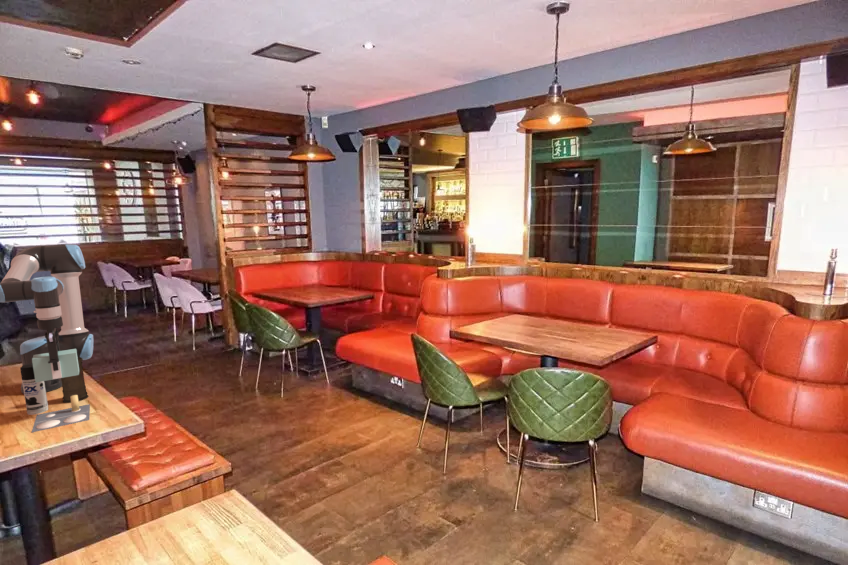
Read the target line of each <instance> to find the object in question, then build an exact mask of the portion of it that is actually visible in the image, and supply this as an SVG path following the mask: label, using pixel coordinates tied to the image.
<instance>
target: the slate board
mask: <svg viewBox="0 0 848 565" xmlns="http://www.w3.org/2000/svg"><path fill="white" fill-rule="evenodd" d="M70 399H71V403H70V404H71V405H70V406H71V407H70V408H69V407H68V408H64V409H59V410H54V411H49V412H43V413H39V414H36V415H35V420H34V422H33V426H32V429H31V433H36V432H40V431H46V430H50V429H53V428H55V429H56V428H59V427H63V426H68V425H72V424H77V423H81V422H86V421H90V416H91V415H90V413H91V412H90V410H91V409H90V408H91V407H90V406H91V404H90V403H89V404H88V403H87V404H85V405H80V401H78V395H72V396H70Z"/></svg>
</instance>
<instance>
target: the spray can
mask: <svg viewBox="0 0 848 565" xmlns="http://www.w3.org/2000/svg"><path fill="white" fill-rule="evenodd" d="M19 369H20V370H19V371H20V375H21V385H22V384H23V390H24V394H23V395H24V401H25V402H24V403H25V407H26V408H25V409H26V414H27V415H28V416H29V415H30V416H31V415H32V416H33V415H38V414H43V413H46V411H48V410H49V402H48V396H47V392H46V389H45V382H44V381H41V382H35V376H34V369H33V363H31V364H26V365H23V366H20V367H19Z"/></svg>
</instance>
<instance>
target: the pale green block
mask: <svg viewBox="0 0 848 565" xmlns="http://www.w3.org/2000/svg"><path fill="white" fill-rule="evenodd" d="M58 358H59V361H60V367H61V374H62V378H64V377H70V376H76V375H79V364H78V357H77V350H76V349H70V350H64V351H58ZM55 359H56V358H55ZM49 360H50V358H49V353H43V354H37V355H34V356H33V358H32V363H33V369H34V376H35V382H41V381H47V380H53V376H52V370H51V363H48V362H49ZM57 379H58V378H57Z"/></svg>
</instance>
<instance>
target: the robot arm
mask: <svg viewBox="0 0 848 565" xmlns="http://www.w3.org/2000/svg"><path fill="white" fill-rule="evenodd" d="M85 268H86V262H85V258H84V255H83V252H82V250H81V248H80V246H79V245H77V244H67V243H65V244H55V245H52V244H51V245H36V246H32V247H29V248H26V249H24V250H22V251H20V252H18V253H17V254H16V255H14V257H13V258H12V259H11V262H10V268H9V270H8V271H7V272H6V274H5V276H4V277H3V279H2V280H1V282H0V303H11V302H23V301H33V302H34V309H35V310H33V313H34V314H35V316H36V318H37V320H36V323H37V328H38V329H39V330H41V331H45V330H46V332H44V333H45V334H44V335H43V336H38V337H34V338H31V339H28V340H26V341H23V342H22V343H20V346H19V351H20V353H19V355H20V358H21V364H22V366H23V365H26V364H31V363H32V358H33V356H34V355H37V354H43V353H49V358H50V360H49V362H48V363H51V370H52V376H53V380H47V381H44V382H45V389H46V393H47V392H52V391H54V390H57V389H60V388H61V387H62V381H61V378H62V374H61V367H60V361H59V358H58V351H64V350H70V349H76V350H77V357H81V358H82V359H83V361H86V360H89V359H91V358H92V356H93V353H94V340H95V339H94V334H92V333H90V332H89V330H88V328H85V322H84V313H83V306H82V305H83V304H82V295H81V289H80V280H79V278H80V276H81V275H82V274H83V270H85ZM39 272H50V276H49V275H48V276H41V277H40V276H39V277H33V278H32V276H33V275H34V274H36V273H39ZM31 278H32V279H31ZM59 328H60V329H61V330H60V331H59V330H58V329H59ZM55 358H56V359H55ZM22 366H21V367H22ZM57 378H58V379H57ZM20 392H21V394H23V395H24V390H23V384H22V383H21V385H20Z"/></svg>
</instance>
